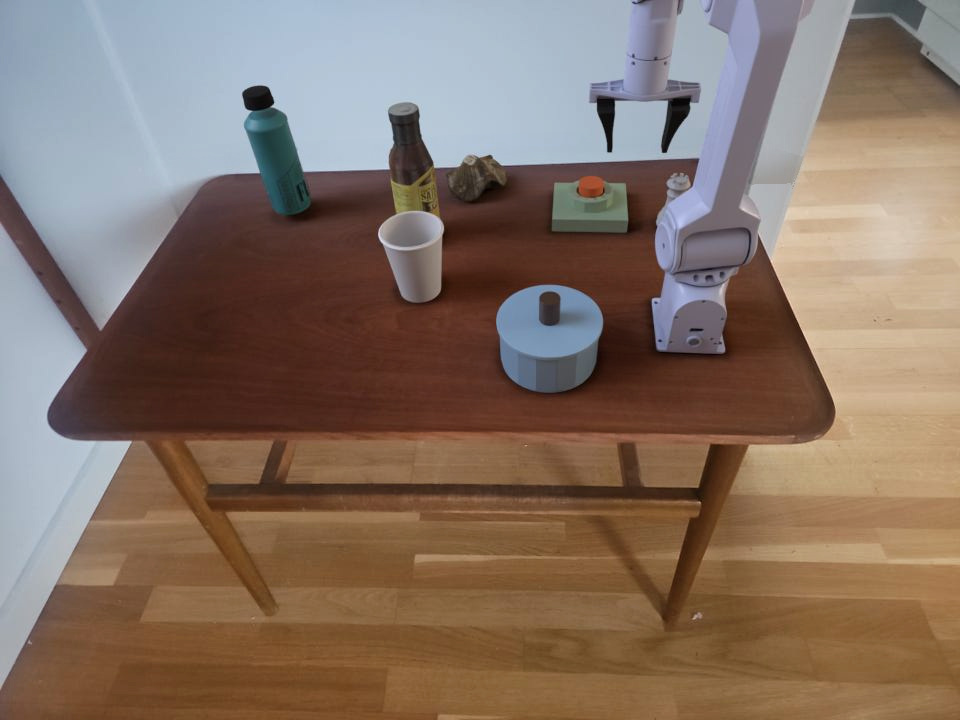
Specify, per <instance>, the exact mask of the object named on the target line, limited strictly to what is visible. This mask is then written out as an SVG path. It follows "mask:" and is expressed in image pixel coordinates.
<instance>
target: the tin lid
mask: <svg viewBox="0 0 960 720" xmlns="http://www.w3.org/2000/svg"><path fill="white" fill-rule="evenodd" d="M603 317H604V316H603V314H602V311H601V309H600V306H599V305H598V304H597V303H596V302H595V301H594V300H593V298H591V297H590V296H588V295H587V294H586V293H583V292H581V291H580V290H578V289H574V288H573V287H568V286H564V285H558V284H540V285H535V286H529V287H526V288H524V289H520V290H519V291H517V292H515V293H513V294H511V295H510V296H509V297H508V298H506V299H505V300H504V302H503V303H501V306H500V307H499V309H498V311H497V314H496V317H495V319H496V320H495V321H496V323H495V325H496V330H497V333H498V336H499V338H500V337H501V339H502V340H503V341H504V343H505V344H506V345H507V346H508V347H510V348H511V349H512V350H514V351H515V352H517V353H519V354H521V355H524V356H526V357H530V358H533V359H539V360H562V359H567V358H571V357H574V356H577V355H579V354H581V353H583V352H585V351H586V350H588V349H589V348H590V347H592V346H593V345H594V344H595V343H596V341H597V340H598V341H599V339H600V337H601V335H602V332H603V328H604V318H603Z"/></svg>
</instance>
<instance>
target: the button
mask: <svg viewBox="0 0 960 720" xmlns="http://www.w3.org/2000/svg"><path fill="white" fill-rule="evenodd" d="M579 180H580V181H579ZM579 180H578V181H579V191H578V193H579V195H580V196H582V197H585V198H596V197H599V196H601V195H602V194H603V184H604V182H603V181H604V179H602V178H601V177H599V176H596V175H587V176H583V177H581V178H580V179H579Z"/></svg>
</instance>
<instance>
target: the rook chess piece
mask: <svg viewBox="0 0 960 720" xmlns="http://www.w3.org/2000/svg"><path fill="white" fill-rule="evenodd" d="M666 185H667V187H668V190H666V195H667V196H666V199H665V200H666V201H665V204H664V206H663V207H662V208H661V210H660V211H659V212H658V214H657V218H656V220H655V223H656V226H657V227H658V225H659V224H660V222H661V221H662V219H663V217H664V214H665V211H666V208H667V205H668V204H669V203H670V202H671V201H673V200H674V199H676V198H677V197H679V196H680V195H682V194H683V193H685V192H686V191H688V190H689V189H690V188H691V186H692V184H691V181H690V178H689V175H688V174H686V175H685V173H683V172H680V173H679V175H678V172H675V173H673V174H672V175H670V178H669V179H667V180H666Z"/></svg>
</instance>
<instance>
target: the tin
mask: <svg viewBox="0 0 960 720" xmlns="http://www.w3.org/2000/svg"><path fill="white" fill-rule="evenodd" d="M598 346H599V339H598V340H597V341H596V343H595V344H594V345H593V346H592V347H590V348H589V349H588V350H586V351H585V352H583V353H581V354H579V355H577V356H574V357H571V358H567V359H562V360H539V359H533V358H530V357H526V356H524V355H521V354H519V353H517V352H515V351H514V350H512V349H511V348H510V347H508V346H507V345H506V344H505V343H504V341H503V340H502V339H501V337H500V336H499V348H500V361H501V364H502V368H503V370H504V372H505V373H506V375H507V376H508V377H509V378H510V379H511V380H512V381H513V382H514V383H515V384H517V385H519V386H521V387H522V388H524V389H527V390H530V391H532V392H537V393H545V394H547V393H549V394H554V393H561V392H566V391H569V390H572V389H575V388H577V387H578V386H580V385H581V384H583V383H584V382H585V381H587V379H588V378H589V377H590V376H591V375H592V373H593V371H594V369H595V366H596V364H597V356H598V348H599V347H598Z"/></svg>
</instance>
